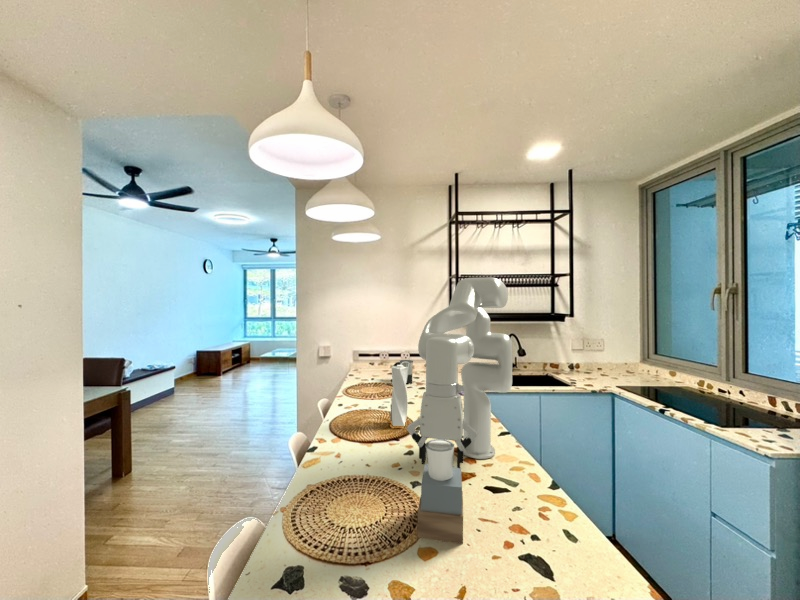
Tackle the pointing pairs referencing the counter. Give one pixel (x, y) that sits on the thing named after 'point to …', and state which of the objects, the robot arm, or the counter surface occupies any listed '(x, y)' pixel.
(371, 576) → the counter surface
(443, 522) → the walnut base block
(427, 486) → the slate top block
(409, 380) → the milk frother
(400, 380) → the skyscraper
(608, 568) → the counter surface
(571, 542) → the counter surface
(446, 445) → the shot glass
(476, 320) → the robot arm
